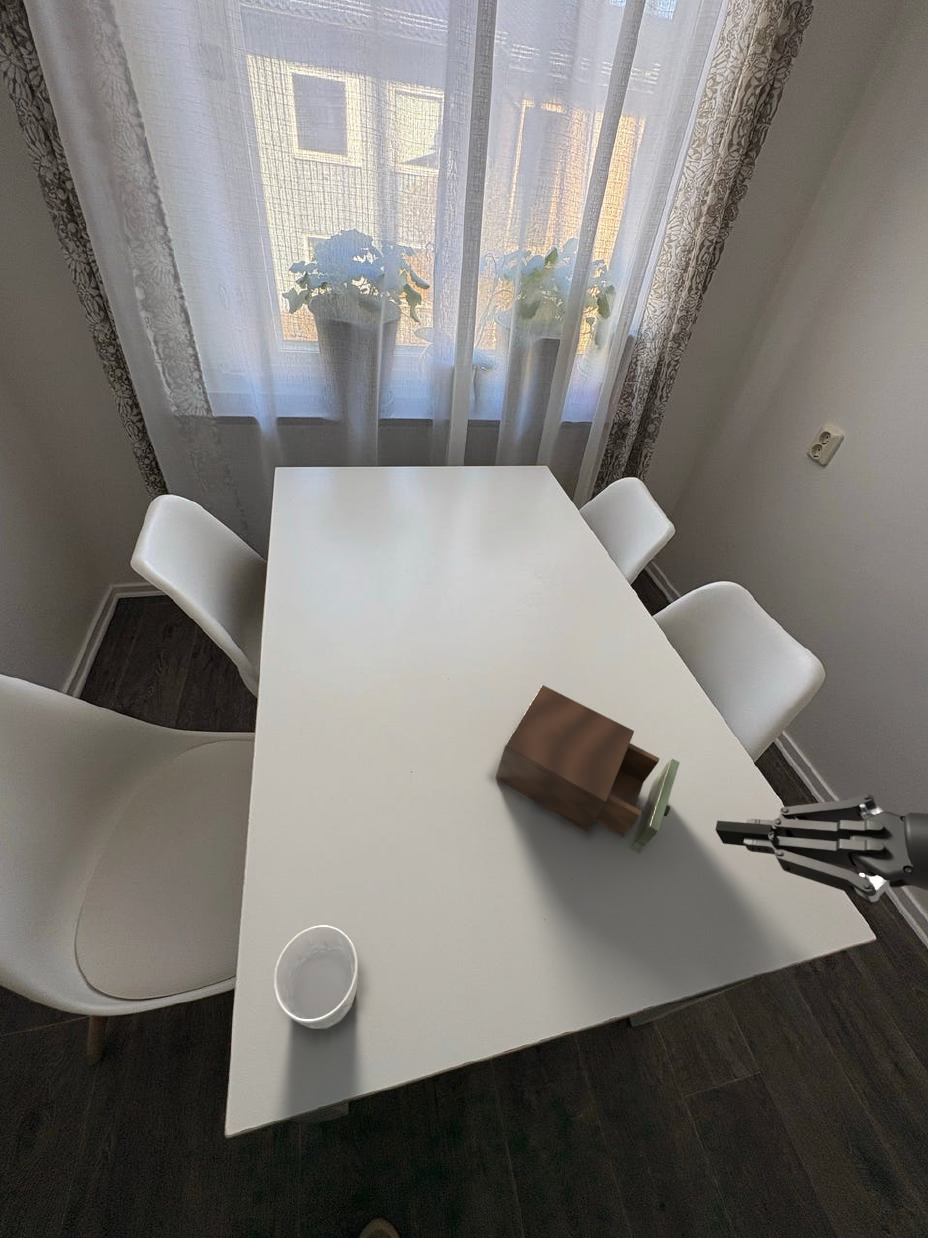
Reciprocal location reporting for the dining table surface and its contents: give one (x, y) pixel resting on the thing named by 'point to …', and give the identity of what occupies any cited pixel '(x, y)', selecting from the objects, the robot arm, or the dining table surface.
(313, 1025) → the white cup
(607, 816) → the top drawer
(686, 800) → the dining table surface
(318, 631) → the dining table surface
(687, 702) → the dining table surface
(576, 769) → the cabinet
